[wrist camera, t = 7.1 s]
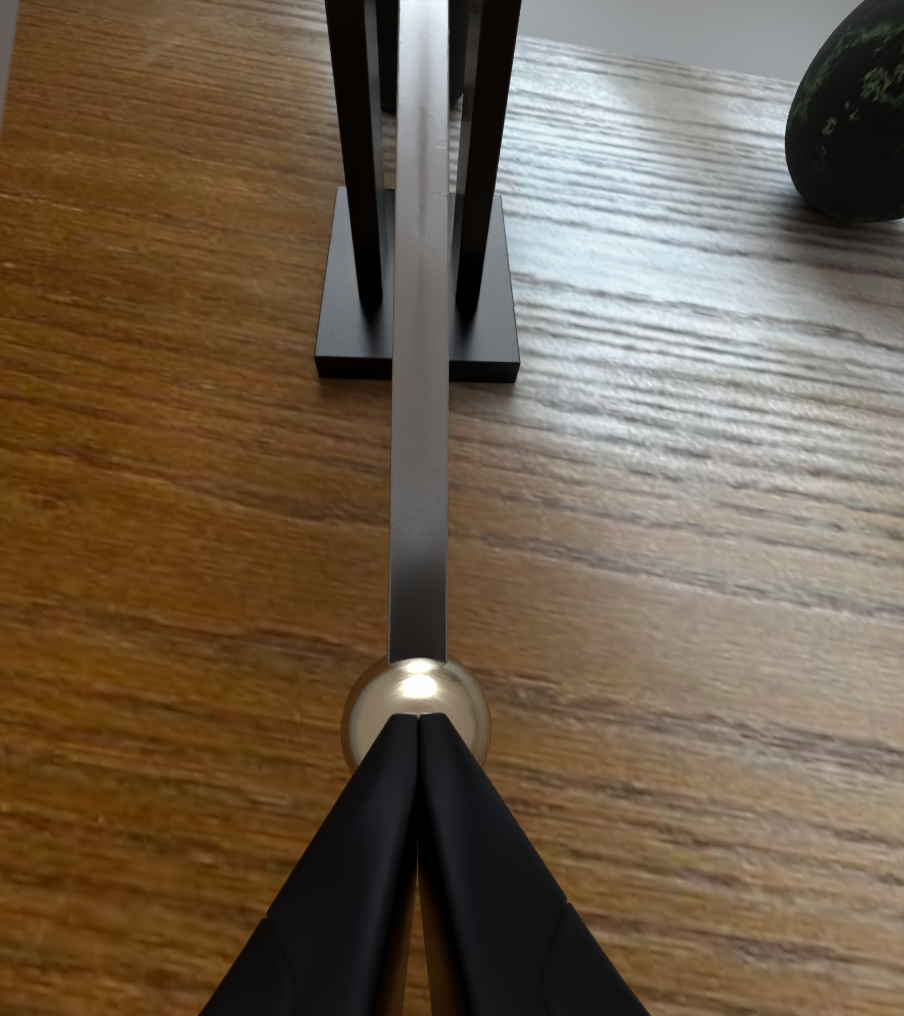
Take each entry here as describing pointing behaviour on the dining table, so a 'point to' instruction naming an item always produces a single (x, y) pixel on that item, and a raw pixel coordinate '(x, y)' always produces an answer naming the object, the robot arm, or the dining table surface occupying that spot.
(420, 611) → the lever
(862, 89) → the decorative stone
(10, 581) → the dining table surface
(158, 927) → the dining table surface
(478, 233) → the lever bracket
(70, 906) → the dining table surface
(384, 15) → the beverage can
